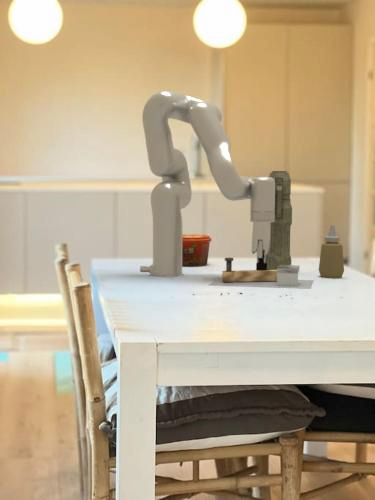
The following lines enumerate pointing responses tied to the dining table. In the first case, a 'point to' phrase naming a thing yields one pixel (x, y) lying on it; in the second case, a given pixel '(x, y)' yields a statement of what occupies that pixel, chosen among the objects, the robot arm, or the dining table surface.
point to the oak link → (247, 274)
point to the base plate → (262, 284)
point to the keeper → (287, 275)
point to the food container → (195, 250)
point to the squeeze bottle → (331, 256)
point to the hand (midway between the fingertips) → (261, 275)
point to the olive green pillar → (280, 222)
